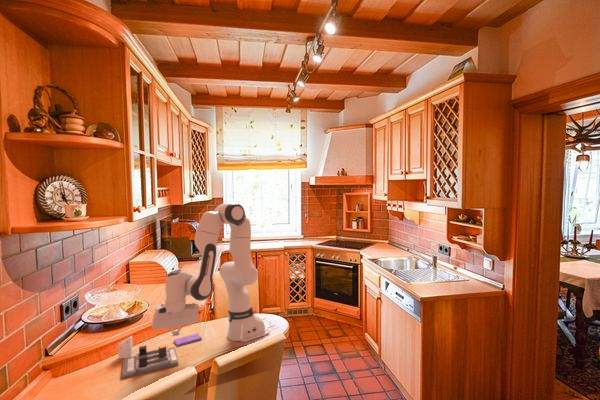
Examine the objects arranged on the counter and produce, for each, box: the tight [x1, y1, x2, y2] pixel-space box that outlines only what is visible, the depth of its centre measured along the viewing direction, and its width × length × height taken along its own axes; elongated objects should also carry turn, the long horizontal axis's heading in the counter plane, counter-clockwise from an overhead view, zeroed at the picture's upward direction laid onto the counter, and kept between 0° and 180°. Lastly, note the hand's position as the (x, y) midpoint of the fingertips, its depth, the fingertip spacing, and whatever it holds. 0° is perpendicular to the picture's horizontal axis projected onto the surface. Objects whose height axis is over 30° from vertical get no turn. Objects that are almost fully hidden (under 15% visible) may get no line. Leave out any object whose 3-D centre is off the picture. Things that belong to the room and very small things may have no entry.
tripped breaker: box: [158, 344, 167, 358], centre depth 148 cm, size 3×3×5 cm
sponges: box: [173, 332, 203, 347], centre depth 168 cm, size 7×13×2 cm, turn 125°
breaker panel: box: [121, 345, 179, 379], centre depth 146 cm, size 22×16×6 cm
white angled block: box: [117, 335, 136, 359], centre depth 153 cm, size 4×10×9 cm
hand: (175, 335), depth 150 cm, fingers closed
